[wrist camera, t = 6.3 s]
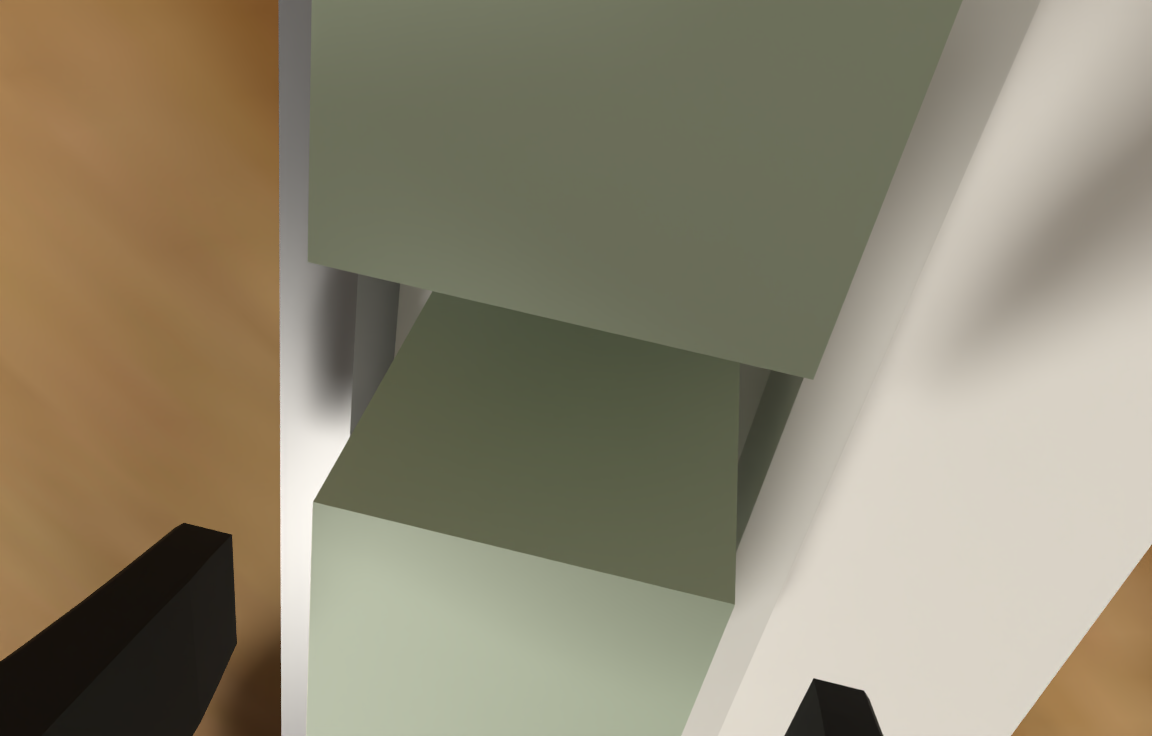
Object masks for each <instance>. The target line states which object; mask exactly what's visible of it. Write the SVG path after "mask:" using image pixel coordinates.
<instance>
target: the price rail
mask: <svg viewBox="0 0 1152 736" xmlns="http://www.w3.org/2000/svg"><path fill="white" fill-rule="evenodd" d="M311 12H312V0H279V221H280V497H281V736H306V715H307V681H308V647H309V612H310V578H311V544H312V510H313V501H314V499H315V498H316V496H317V494H318V492H319V491H320V489H321V487H322V485H323V484H324V482H325V480H326V478H327V476H328V475H329V473H330V471H331V469H332V468H333V466H334V464H335V462H336V461H337V459H338V457H339V455H340V453H341V452H342V450H343V448H344V446H345V445H346V443H347V441H348V439H349V438H350V436H351V434H352V432H353V431H354V429H355V427H356V425H357V423H358V422H359V420H360V418H361V416H362V415H363V413H364V411H365V409H366V408H367V406H368V404H369V402H370V401H371V399H372V397H373V395H374V393H375V392H376V390H377V388H378V386H379V385H380V383H381V381H382V379H383V378H384V376H385V374H386V372H387V370H388V369H389V367H390V365H391V363H392V362H393V360H394V354H395V341H396V329H397V316H398V304H399V291H400V283H396V282H391V281H387V280H383V279H378V278H374V277H370V276H366V275H361V274H357V273H353V272H348V271H344V270H340V269H336V268H331V267H327V266H323V265H318V264H314V263H310V262H308V205H309V140H310V76H311Z"/></svg>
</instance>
